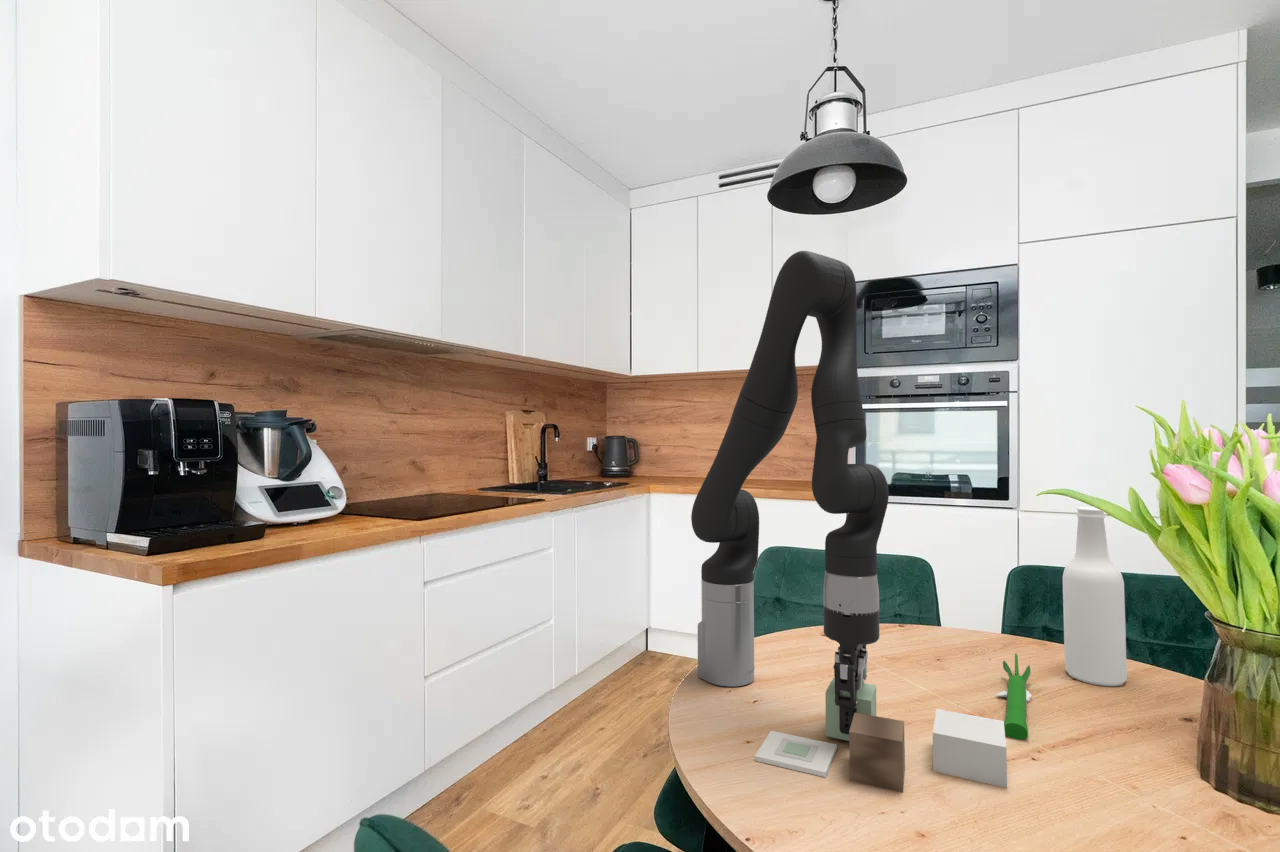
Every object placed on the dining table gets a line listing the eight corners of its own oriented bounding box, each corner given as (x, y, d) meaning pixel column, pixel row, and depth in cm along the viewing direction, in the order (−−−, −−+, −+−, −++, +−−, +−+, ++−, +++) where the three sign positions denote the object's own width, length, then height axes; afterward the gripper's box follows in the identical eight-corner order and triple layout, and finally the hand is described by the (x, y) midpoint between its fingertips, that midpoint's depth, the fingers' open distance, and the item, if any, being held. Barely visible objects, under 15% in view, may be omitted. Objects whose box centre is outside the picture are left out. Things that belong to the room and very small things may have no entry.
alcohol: (1108, 670, 111) (1104, 505, 113) (1139, 689, 103) (1133, 510, 104) (1055, 667, 113) (1051, 504, 114) (1081, 685, 104) (1076, 509, 105)
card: (754, 760, 80) (754, 754, 80) (771, 734, 87) (770, 729, 87) (826, 777, 75) (825, 770, 75) (836, 749, 83) (836, 742, 83)
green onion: (1032, 749, 84) (1031, 670, 110) (1031, 725, 84) (1030, 652, 110) (991, 740, 87) (999, 665, 112) (991, 717, 87) (999, 647, 112)
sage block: (825, 735, 85) (825, 692, 85) (833, 718, 91) (833, 677, 91) (871, 745, 82) (871, 700, 83) (876, 727, 88) (876, 685, 88)
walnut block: (849, 781, 75) (849, 731, 75) (855, 758, 80) (854, 712, 80) (903, 793, 72) (902, 741, 72) (904, 769, 78) (904, 721, 78)
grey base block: (933, 772, 77) (932, 732, 77) (936, 745, 84) (936, 708, 84) (1007, 789, 73) (1006, 747, 73) (1004, 759, 80) (1003, 721, 80)
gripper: (832, 590, 95) (833, 699, 95) (813, 612, 82) (814, 739, 82) (884, 596, 92) (885, 709, 91) (873, 620, 79) (874, 752, 78)
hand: (851, 723), depth 87 cm, fingers closed on sage block, 6 cm apart
